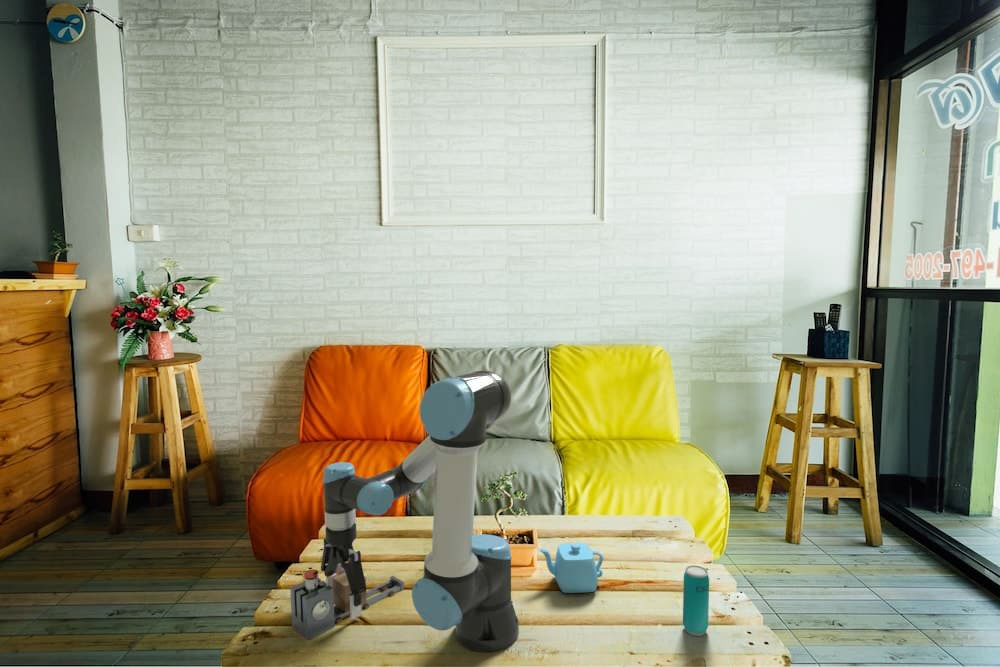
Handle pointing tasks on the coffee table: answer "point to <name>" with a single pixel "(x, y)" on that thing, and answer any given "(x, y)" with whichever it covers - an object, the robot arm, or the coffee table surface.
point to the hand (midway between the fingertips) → (343, 607)
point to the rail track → (386, 592)
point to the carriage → (344, 592)
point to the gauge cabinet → (312, 609)
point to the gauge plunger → (311, 581)
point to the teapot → (575, 567)
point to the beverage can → (695, 600)
